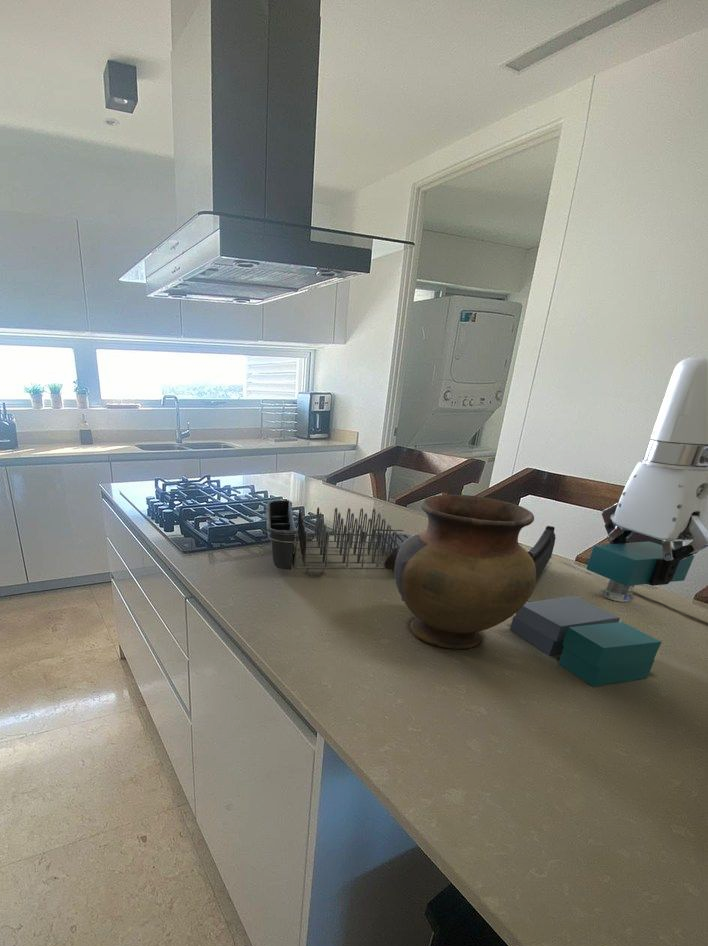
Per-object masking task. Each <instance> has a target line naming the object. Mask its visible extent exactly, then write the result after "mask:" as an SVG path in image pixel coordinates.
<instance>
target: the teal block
mask: <svg viewBox="0 0 708 946" xmlns="http://www.w3.org/2000/svg"><path fill="white" fill-rule="evenodd" d="M662 558H663V551H662V544H660V543H656V542H654V541H650V540H649V541H637V542H636V541H635V542H629V543H619V544H610V543H608V544H607V543H606V544H594V545H593V547H592V550H591V553H590V556H589V560H588V563H587V565H586V570H587V571H589V572H591V573H595V574H596V575H598V576H601V577H603V578H606V579H608V580H610V579H611V580H613V581H615V582H618V583H620V584H622V585H625V586H632V585H635V586H641V585H643V586H644V585H650V584H649V580H650V578H651V575H652V573H653V570H654V568H655V565H656V562H657V560H658V559H662ZM694 558H695V554H693V555H691V556H689V557H686V559H684V560H680V562H679V564H678V567H677V569H676V571H675V574H674V576H673V579H672V580H671V581H670V582H669V583H672V582H684V581H685V579H686V578H687V574H688V573H689V571H690V567H691V566H692V563H693V561H694Z"/></svg>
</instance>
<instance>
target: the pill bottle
mask: <svg viewBox="0 0 708 946" xmlns="http://www.w3.org/2000/svg"><path fill="white" fill-rule="evenodd" d="M607 583H608V584H607V586H606V588H605V591H604V597H605V598H606V599H608V600H611V601H615V602H621V603H626V602H629V601H630V599H631V597H632V594H633V591H634V588H635V586H636V585H632V586H625V585H622V584H620V583H618V582H615V581H613V580H611V579H608V582H607Z"/></svg>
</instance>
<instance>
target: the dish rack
mask: <svg viewBox="0 0 708 946" xmlns="http://www.w3.org/2000/svg"><path fill="white" fill-rule="evenodd" d="M292 508H293V503H292V501H291V500H289V499H282V500H281V499H278V500H272V501H269V502H267V503H266V514H265V515H266V518H265V519H266V530H267V538H268V539H270V549H271V557H272V558H271V559H272V562H273V565H274V566H275V568H277V569H280V570H286V571H291V570H292V568H293V569H295V570H296V569H298V570H306V571H305V572H306V575H308V576H311V577H313V576H314V577H317V576H318V577H321V576H323V575H324V573H325V570H387V569H386V568H385V566H379V565H380V564H384V562H385V561H383V562H382V561H381V562H380V557H385V559H386V558H387V557H388V555H389V554H390V553H391V552H392V550H393V549H394V548H396V547H398V546H400V545H401V544H402V543H403V542H404V541H405V540H407V539H408V538H409V537H410V536H412V535H411V534H407V533H397V532H404V531H405V530H404V529H392V525H391V524H390V523H388V524H387V527H386V523H387V522H386V518H385V517H383V518H382V517H381V512H378V513H377V512H376V511H377V510H376V508H375V507H373V508H372V513H371V517H369V518H368V513H367V512H364V508H363V507H361V508H360V511H359V517H355V513H354V512H351V508H350V507H348V508H347V512H346V520H345V521H344V518H343V517H341V512H340V511H339V512H338V507H335V508H334V513H333V514H334V515H333V521H332V530H331V531H332V533H330V531H329V530H328V529H327V524H326V523H324V520H325V519H324V517H322V512H320V507H319V506H318V507H317V509H316V517H315V527H314V530H315V531H314V532H313V533H311V532H308V530H306V524H305V523H304V522H305V521H304V517H303V512H302V507H301V506H299V507H298V518H297V520H298V521H297V527H296V524H295V520H294V513H293V510H292ZM376 513H377V517H376ZM381 518H382V519H381ZM344 523H345V524H344ZM308 536H312V537H311V538H310V537H309V538H308ZM314 536H316V537H315V539H316V540H314ZM330 536H333V540H330ZM295 538H296V539H295ZM367 539H368V540H367ZM309 542H310V543H315V542H316V543H317V546H307V545H308V543H309ZM330 543H336V546H329V544H330ZM366 545H367V547H366ZM298 547H299V548H300V555H301V562H302V564H303V566H296V560H297V553H298ZM307 549H319V550H320V551H319V553H307ZM329 549H339V553H329ZM351 549H352V550H353V551H352V554H350V550H351ZM371 550H372V552H371ZM385 552H386V554H385ZM366 553H367V554H366ZM307 556H322V559H321V561H307ZM328 556H342V561H328V559H329V557H328ZM350 556H357V558H356V561H349V560H350ZM361 556H362V557H361ZM365 556H367V557H369V556H371V561H365ZM375 559H376V561H375ZM306 564H324V566H306ZM328 564H346V565H345V566H328ZM349 564H361V566H349ZM364 564H376V566H364ZM309 570H321V572H309Z"/></svg>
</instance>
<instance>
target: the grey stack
mask: <svg viewBox="0 0 708 946" xmlns="http://www.w3.org/2000/svg"><path fill="white" fill-rule="evenodd" d="M620 620H621V616H619V615H617V614H615V613H612V612H610V611H608V610H605V609H604V608H601V607H600V606H597V605H595V604H593V603H591V602H589V601H587V600H584V599H582V598H580V597H578V596H576V595H572V596H565V597H558V598H556V597H555V598H550V599H542V600H534V601H527V602H526V603H525V604H524V606H523V607H522V608H521V609H520V610H519V611H518V612H517V613H515V614H514V615H513V616H512V620H511V624H510V627H509V630H510V631H511V632H512V633H514V634H515V635H517V636H518V637H520V638H521V639H523V640H524V641H526V642H528V643H529V644H531V645H532V646H533V647H535V648H536V649H538V650H540V651H541V652H543V653H544V654H546V655H547V656H549V657H551V656H559V655H561V654H562V651H563V648H564V646H563V642H564V639H565V636H566V633H567V629H568V627H575V626H585V625H595V624H606V623H616V622H620Z"/></svg>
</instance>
